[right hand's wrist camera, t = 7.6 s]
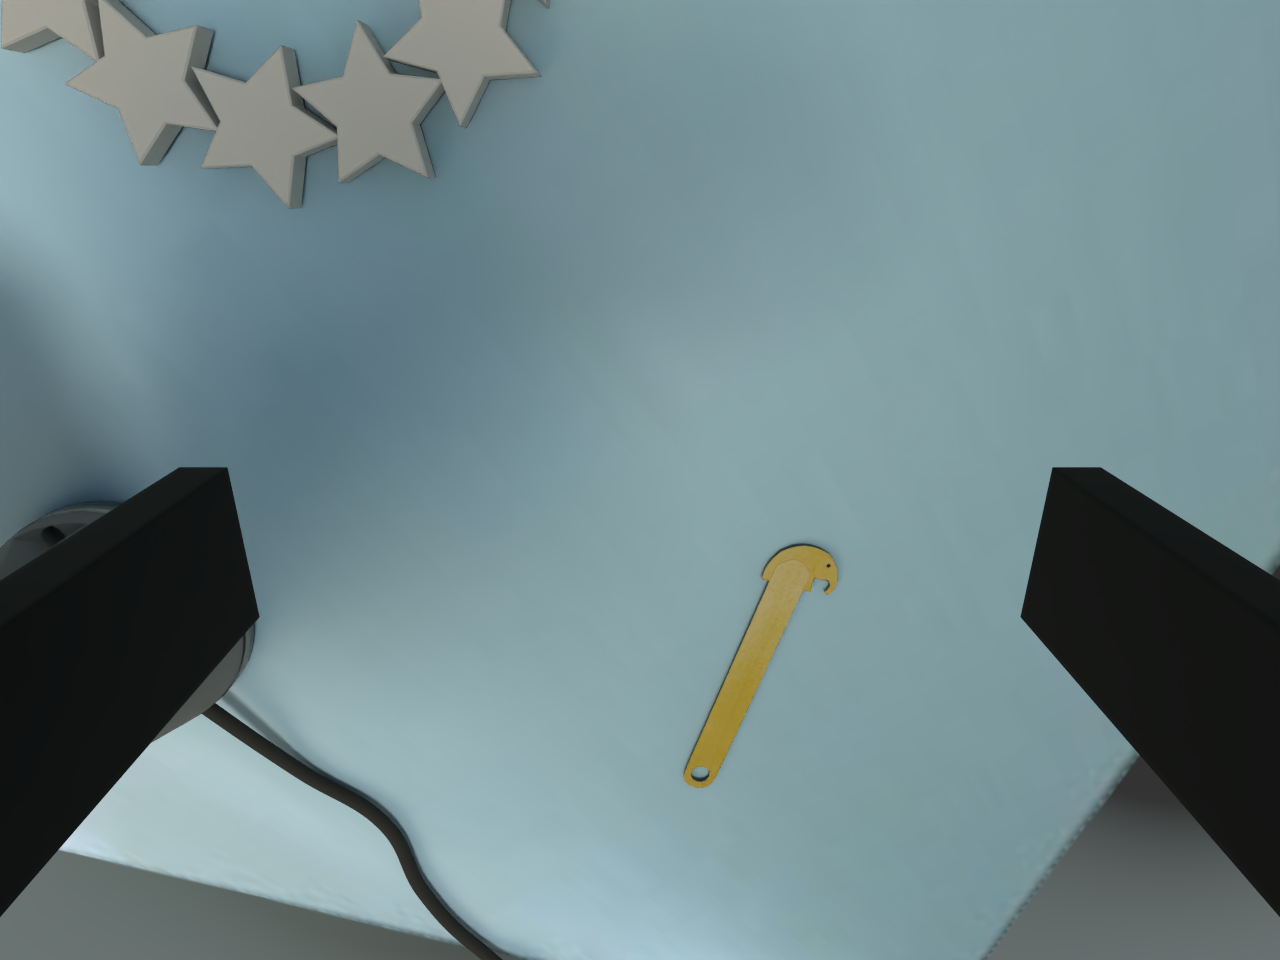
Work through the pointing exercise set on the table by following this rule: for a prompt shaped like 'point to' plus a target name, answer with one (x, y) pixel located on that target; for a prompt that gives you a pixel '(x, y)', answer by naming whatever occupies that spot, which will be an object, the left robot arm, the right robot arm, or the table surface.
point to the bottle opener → (758, 651)
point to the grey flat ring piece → (279, 86)
